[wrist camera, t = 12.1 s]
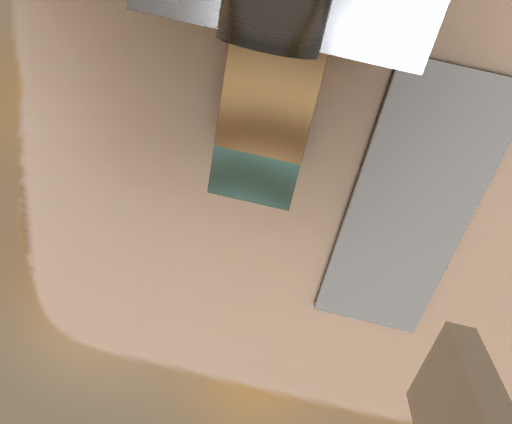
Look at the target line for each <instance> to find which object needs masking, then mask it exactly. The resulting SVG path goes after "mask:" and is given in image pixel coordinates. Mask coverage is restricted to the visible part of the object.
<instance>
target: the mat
mask: <svg viewBox="0 0 512 424" xmlns="http://www.w3.org/2000/svg"><path fill="white" fill-rule="evenodd" d="M511 140H512V77H510V76H506V75H501V74H497V73H492V72H488V71H484V70H479V69H475V68H470V67H466V66H461V65H457V64H452V63H448V62H443V61H439V60H434V59H430V58H428V61H427V63H426V66H425V69H424V72H423V74H422V75H417V74H413V73H409V72H404V71H400V70H395V69H394V72H393V75H392V78H391V81H390V83H389V86H388V89H387V92H386V95H385V98H384V101H383V104H382V107H381V110H380V113H379V116H378V119H377V122H376V125H375V127H374V130H373V133H372V136H371V139H370V142H369V145H368V148H367V151H366V154H365V157H364V160H363V163H362V166H361V169H360V172H359V174H358V177H357V180H356V183H355V186H354V189H353V192H352V195H351V198H350V201H349V204H348V207H347V210H346V213H345V216H344V218H343V221H342V224H341V227H340V230H339V233H338V236H337V239H336V242H335V245H334V248H333V251H332V254H331V257H330V260H329V262H328V265H327V268H326V271H325V274H324V277H323V280H322V283H321V286H320V289H319V292H318V295H317V298H316V301H315V304H314V309H317V310H321V311H325V312H329V313H333V314H337V315H341V316H346V317H350V318H354V319H358V320H362V321H366V322H370V323H374V324H378V325H382V326H386V327H391V328H395V329H399V330H403V331H407V332H411V333H413V332H414V330H415V328H416V326H417V324H418V322H419V320H420V318H421V316H422V314H423V312H424V310H425V308H426V306H427V304H428V302H429V301H430V299H431V297H432V295H433V293H434V291H435V289H436V287H437V285H438V283H439V281H440V279H441V277H442V275H443V273H444V271H445V269H446V267H447V265H448V263H449V261H450V260H451V258H452V256H453V254H454V252H455V250H456V248H457V246H458V244H459V242H460V240H461V238H462V236H463V234H464V232H465V230H466V228H467V226H468V224H469V222H470V220H471V218H472V217H473V215H474V213H475V211H476V209H477V207H478V205H479V203H480V201H481V199H482V197H483V195H484V193H485V191H486V189H487V187H488V185H489V183H490V181H491V179H492V177H493V175H494V174H495V172H496V170H497V168H498V166H499V164H500V162H501V160H502V158H503V156H504V154H505V152H506V150H507V148H508V146H509V144H510V142H511Z"/></svg>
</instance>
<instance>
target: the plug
mask: <svg viewBox="0 0 512 424" xmlns="http://www.w3.org/2000/svg"><path fill="white" fill-rule="evenodd" d="M327 58H328V54H324V53H319V57H318V59H315V60H305V59H295V58H288V57H282V56H277V55H272V54H267V53H262V52H258V51H254V50H250V49H246V48H242V47H239V46H236V45H232V44H229V45H228V52H227V59H226V66H225V73H224V80H223V87H222V94H221V101H220V108H219V115H218V122H217V129H216V136H215V143H214V150H213V157H212V164H211V171H210V177H209V184H208V191H207V192H209V193H213V194H217V195H222V196H226V197H231V198H235V199H239V200H244V201H248V202H252V203H257V204H261V205H265V206H270V207H274V208H278V209H283V210H287V211H289V207H290V203H291V199H292V195H293V192H294V188H295V184H296V180H297V176H298V172H299V168H300V164H301V160H302V156H303V152H304V148H305V144H306V140H307V136H308V133H309V129H310V125H311V121H312V117H313V113H314V109H315V105H316V101H317V97H318V93H319V89H320V85H321V81H322V77H323V74H324V70H325V66H326V62H327Z"/></svg>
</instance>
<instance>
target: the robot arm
mask: <svg viewBox="0 0 512 424" xmlns="http://www.w3.org/2000/svg"><path fill="white" fill-rule="evenodd" d="M406 394H407V398H408V403H409V407H410V412H411V416H412V421H413V424H512V401H511V399H510V397H509V395H508V393H507V391H506V389H505V387H504V385H503V383H502V381H501V379H500V377H499V375H498V372H497V370H496V368H495V366H494V364H493V362H492V360H491V358H490V356H489V354H488V352H487V350H486V348H485V346H484V344H483V342H482V340H481V337H480V335H479V333H478V331H477V329H476V328H472V327H468V326H463V325H459V324H455V323H451V322H447V321H446V322H445V324H444V326H443V328H442V330H441V331H440V333H439V335H438V337H437V339H436V341H435V342H434V344H433V346H432V348H431V350H430V351H429V353H428V355H427V357H426V359H425V361H424V362H423V364H422V366H421V368H420V370H419V371H418V373H417V375H416V377H415V379H414V381H413V382H412V384H411V386H410V388H409V390H408V392H407V393H406Z"/></svg>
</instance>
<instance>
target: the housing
mask: <svg viewBox="0 0 512 424" xmlns="http://www.w3.org/2000/svg"><path fill="white" fill-rule="evenodd" d="M449 2H450V0H127V9H130V10H134V11H138V12H143V13H147V14H152V15H156V16H161V17H165V18H169V19H174V20H178V21H183V22H187V23H192V24H196V25H200V26H205V27H209V28H214V29H217V35H216V37H217V38H218V39H220V40H222V41H224V42H227V43H229V44H232V45H236V46H239V47H242V48H246V49H250V50H254V51H258V52H262V53H267V54H272V55H277V56H282V57H288V58H295V59H305V60H315V59H318V57H319V53H324V54H329V55H333V56H338V57H342V58H347V59H351V60H355V61H360V62H364V63H369V64H373V65H378V66H382V67H386V68H391V69H395V70H400V71H404V72H409V73H413V74H417V75H422V74H423V72H424V69H425V66H426V63H427V61H428V58H429V55H430V53H431V50H432V47H433V45H434V42H435V39H436V37H437V34H438V31H439V29H440V26H441V23H442V21H443V18H444V15H445V13H446V10H447V7H448V5H449Z"/></svg>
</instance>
